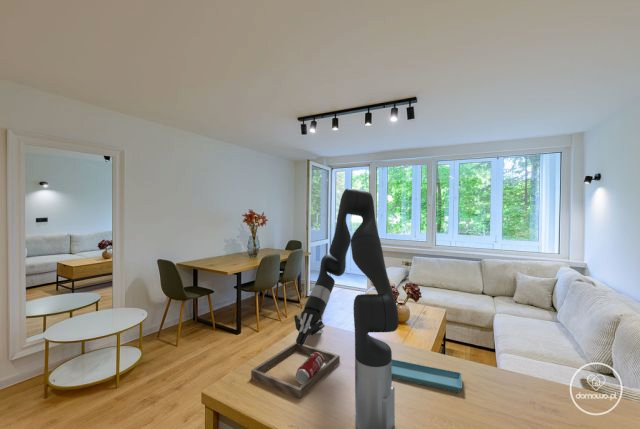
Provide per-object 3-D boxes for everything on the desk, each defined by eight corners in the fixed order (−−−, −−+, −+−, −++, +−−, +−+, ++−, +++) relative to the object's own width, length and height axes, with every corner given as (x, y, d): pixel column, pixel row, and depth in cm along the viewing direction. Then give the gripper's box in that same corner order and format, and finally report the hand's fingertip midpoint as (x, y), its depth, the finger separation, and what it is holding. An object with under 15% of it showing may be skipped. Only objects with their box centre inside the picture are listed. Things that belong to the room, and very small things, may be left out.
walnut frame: (339, 362, 103) (339, 355, 103) (299, 398, 83) (299, 390, 83) (295, 348, 114) (295, 342, 114) (251, 377, 94) (251, 370, 94)
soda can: (311, 366, 101) (295, 384, 90) (310, 351, 102) (293, 368, 91) (325, 367, 99) (310, 386, 88) (323, 352, 99) (308, 369, 88)
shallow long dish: (375, 375, 95) (375, 368, 95) (381, 362, 104) (381, 355, 104) (462, 396, 84) (462, 388, 84) (461, 380, 93) (461, 372, 93)
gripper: (300, 292, 111) (279, 335, 101) (329, 297, 104) (310, 344, 93) (307, 302, 115) (288, 344, 105) (336, 308, 108) (319, 354, 98)
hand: (298, 344), depth 99 cm, fingers closed
